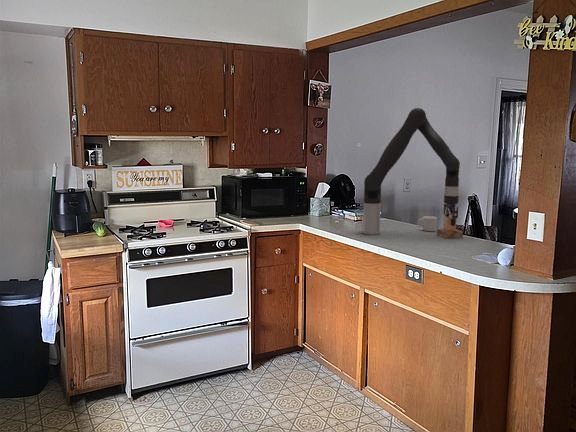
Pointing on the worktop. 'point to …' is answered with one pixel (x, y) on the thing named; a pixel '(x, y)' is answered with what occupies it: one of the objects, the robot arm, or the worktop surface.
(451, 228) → the terracotta block
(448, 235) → the walnut block
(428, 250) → the worktop surface
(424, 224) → the cup
